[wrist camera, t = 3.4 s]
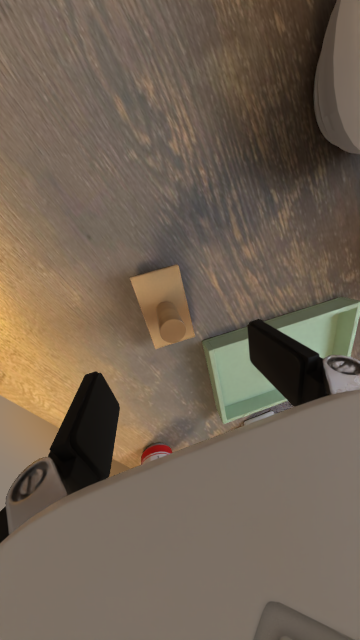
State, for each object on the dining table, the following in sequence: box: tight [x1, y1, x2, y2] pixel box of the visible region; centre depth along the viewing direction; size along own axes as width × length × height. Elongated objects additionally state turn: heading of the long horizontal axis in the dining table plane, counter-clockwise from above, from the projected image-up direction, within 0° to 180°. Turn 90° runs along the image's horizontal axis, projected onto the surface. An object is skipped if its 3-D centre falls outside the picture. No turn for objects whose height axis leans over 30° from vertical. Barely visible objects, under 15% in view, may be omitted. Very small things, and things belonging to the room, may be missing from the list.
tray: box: [202, 297, 360, 424], centre depth 30 cm, size 26×17×3 cm, turn 104°
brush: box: [130, 264, 195, 349], centre depth 19 cm, size 10×6×9 cm, turn 14°
